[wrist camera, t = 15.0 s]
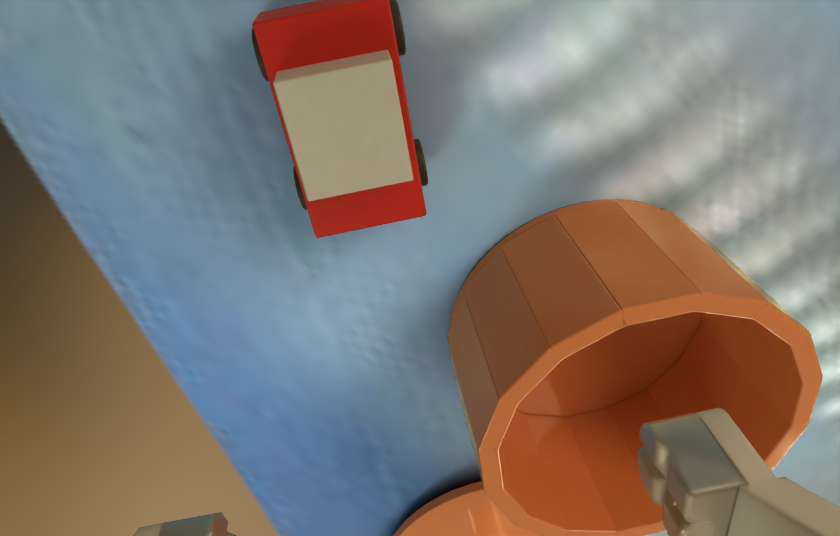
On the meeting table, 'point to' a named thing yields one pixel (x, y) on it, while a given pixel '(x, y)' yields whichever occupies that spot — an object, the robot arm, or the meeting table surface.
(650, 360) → the pot
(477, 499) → the lid
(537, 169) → the meeting table surface
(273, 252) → the meeting table surface
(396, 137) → the car
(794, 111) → the meeting table surface
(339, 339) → the meeting table surface
